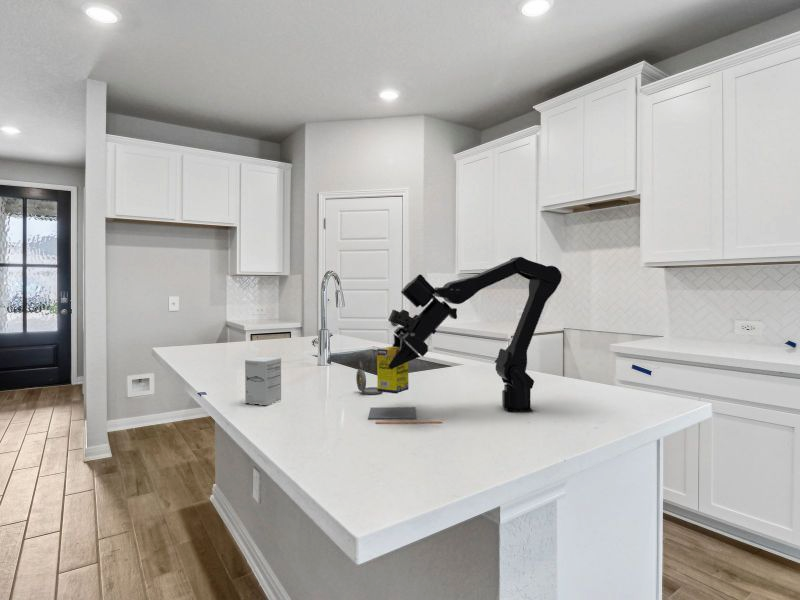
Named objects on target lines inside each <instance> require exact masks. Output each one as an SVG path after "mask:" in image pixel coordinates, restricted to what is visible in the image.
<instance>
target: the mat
mask: <svg viewBox="0 0 800 600" xmlns="http://www.w3.org/2000/svg"><path fill="white" fill-rule="evenodd" d="M367 420H372V421H373V420H418V417H417V410H416V407H415V406H403V407H402V406H400V407H398V406H396V407H393V406H392V407H391V406H388V407H385V406H384V407H382V406H381V407H380V406H379V407H378V406H377V407H375V406H374V407H370V409H369V413H368V417H367Z"/></svg>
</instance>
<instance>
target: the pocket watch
mask: <svg viewBox="0 0 800 600" xmlns="http://www.w3.org/2000/svg"><path fill="white" fill-rule="evenodd" d="M358 364H359V366H360V367H359V369H358V370H357V371H356V377H355V378H356V380H355V381H356V386H357V389H358V390H359V392H360V391H361V393H362V394H366V395H377V394H378V395H379V394H381V393H382V392H378V386H377V387H374V386H373V387H367V378H366V374H365V373H366V372H365V371H364V369H363V367H364V365H363V363H362V362H361V360H360V361H359V362H358Z"/></svg>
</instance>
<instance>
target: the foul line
mask: <svg viewBox="0 0 800 600" xmlns="http://www.w3.org/2000/svg"><path fill="white" fill-rule="evenodd" d="M375 424H379V425H380V424H381V425H382V424H390V425H391V424H443V421H442V420H375Z"/></svg>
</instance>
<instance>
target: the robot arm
mask: <svg viewBox="0 0 800 600" xmlns="http://www.w3.org/2000/svg"><path fill="white" fill-rule="evenodd" d="M561 273H562V272H561V271H560V269H559V268H558V267H557V266H554V265H544V264H542V263H539V262H536V261H533V260H529V259H527V258H525V257H523V256H515V257H511V258H510V259H509V260H507V261H505V262H502V263H499V264H498V265H496V266H494V267H493V266H492V267H491V268H489V269H487V270H485V271H483V272H481V273H478V274H475V275H473V276H470V277H466V278H465V277H464V278H461V279H460V278H459V279H457V280H452V281H448V282H446V283H444V285H443V287H438V286H436V287H433V285H431V284H430V283H429V282H428V281H427V280H426V278H425V277H424V276H423V275H422V274H417V276H416V277H414V278H413V279H411V281H410V282H409V281H408V282H407V283H406V285H405V286H404V287H403V288H402V290H401V291H400V293H401V294H402V295H403V296H404V297H405V298H406V299H407V300H408V301H410V303H411V304H413V306H415V308H419V307H421V308H423V310H422V311H421V312H420V313H418V314H414V315H413V317H411V316H410V312H409V311H407V310H405V309H401V310H400V311H398V310H396V309H392V311H391V313H390V315H389V317H388V322H390V323H391V324H395V325H396V324H397V325H398V327H397V328H396V329H395V330H394V331H393V333H394V334H393V344H392V345H391V347H400V349H399V351H398V352H397V353H396V355H395V356H394V358H393V359H392V361H391V362H390V364H389V367H390V368H391V369H393V368H395V367H397V366H399V365H402V364H404V363H406V362H408V363H409V362H410V361H413V360H415V359H418V358H420V357H422V358H423V357H424V356H425V355H426V354H427V353H428V352H429V346H428V344H427V343H426V342H425V341H427V340H428V338H429V337H430V336H431V335H432V334H433V335H435V334H436V332H437V329H438V328H439V326H441V324H443V322H444V321H445V320H446V319H447V318H448V317H449V318H451V319H454V320H457V319H458V316H457V315H458V314H457V312H458V308H454V307H453V308H452V307H451V306H450V305H449V304H455V305H461V304H463V303H464V302H466V301H468V300H469V299H471V298H472V297H474V296H475V295H476V294H477V293H478V292H479V291H481V290H483V289H484V288H487V287H490V286H491V285H494V284H497V283H498V282H501V281H503V280H505V279H507V278H510V277H512V276H513V275H516V274H518V276H521V277H523V278H524V279H526V280H528V298H527V300H526V302H525V305H524V308H523V309H522V312H521V316H520V318H519V321H518V323H517V326H516V329H515V331H514V334H513V337H512V339H511V340H510V344H509V345H508V347H506V349H503V348H500V349H499V351H498V355H497V358H496V359H495V360H494V363H495V371H496V373H497V375H498V376H499V377H500V378H501V380H502V382H503V384H504V385H503V386H504V389H502V391H501V395H502V396H501V397H502V399H501V402H502V403H501V405H502V406H503V408H504V409H505V410H506V412H533V408H532V407H531V391H532V390H531V389H533V386H534V385H535V384H534V383H535V380H534V379H533V378H532V377H531V376H530V375H529V374H528V373H527V372H526V371H527V367H528V349H529V347H530V344H531V342H532V339H533V336H534V334H535V331H536V328H537V326H538V323H539V321H540V318H541V317H542V316H541V315H542V314H543V312H544V311H543V310H544V307H545V305H546V302H547V301H548V300H549V298H551V297H552V295H553V294H554V293H555V292H556V290H557V289H558V287H559V285H560V284H561V281H562V276H563V275H562V274H561ZM438 298H441V299H443V300H444V301H440V300H439V299H438ZM448 303H449V304H448ZM424 307H425V308H424Z"/></svg>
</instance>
